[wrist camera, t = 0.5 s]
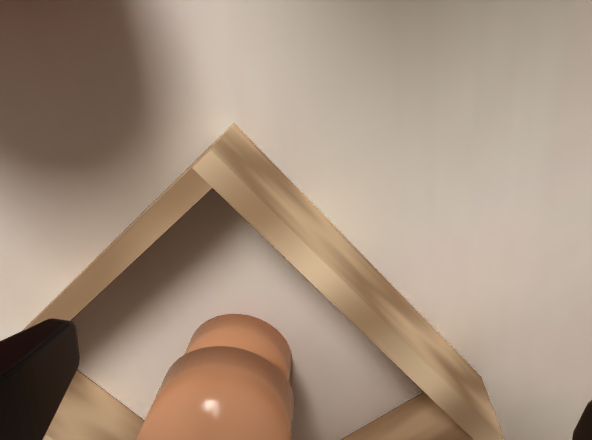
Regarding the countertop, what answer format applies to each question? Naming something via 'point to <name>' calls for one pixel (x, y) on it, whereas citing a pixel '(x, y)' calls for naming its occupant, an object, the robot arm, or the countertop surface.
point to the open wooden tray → (317, 269)
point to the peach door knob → (226, 385)
